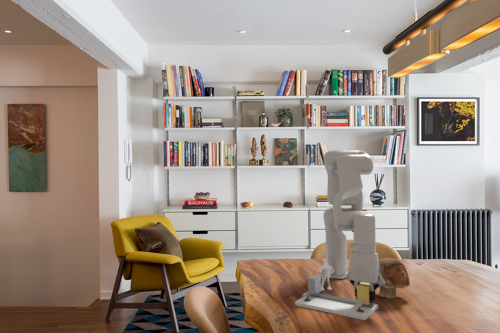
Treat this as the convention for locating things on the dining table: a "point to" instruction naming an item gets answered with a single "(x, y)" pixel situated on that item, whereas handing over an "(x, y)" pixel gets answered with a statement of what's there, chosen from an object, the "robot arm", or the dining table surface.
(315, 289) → the rail
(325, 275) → the figurine
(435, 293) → the dining table surface
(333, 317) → the dining table surface
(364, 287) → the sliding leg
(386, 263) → the sculpture
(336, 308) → the hole plate
